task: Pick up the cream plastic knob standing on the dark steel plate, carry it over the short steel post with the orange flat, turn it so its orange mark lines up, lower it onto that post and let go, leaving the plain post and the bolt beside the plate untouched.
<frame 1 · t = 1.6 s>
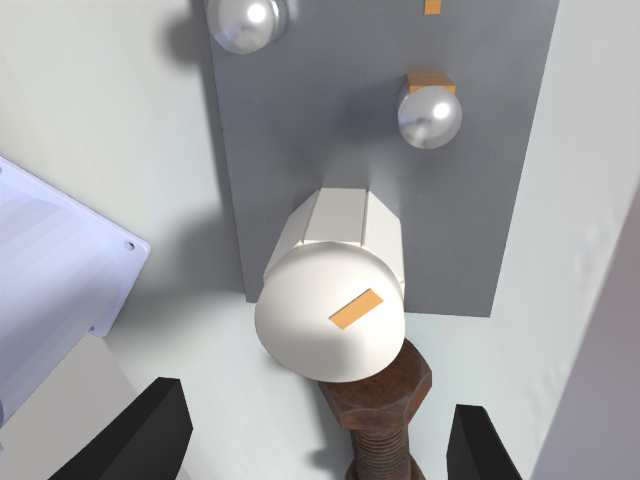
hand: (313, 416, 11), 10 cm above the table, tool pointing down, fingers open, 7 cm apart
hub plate: (369, 145, 18), on the table
knob: (343, 239, 19), point 1 cm above the table, touching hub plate
bolt: (380, 417, 27), on the table
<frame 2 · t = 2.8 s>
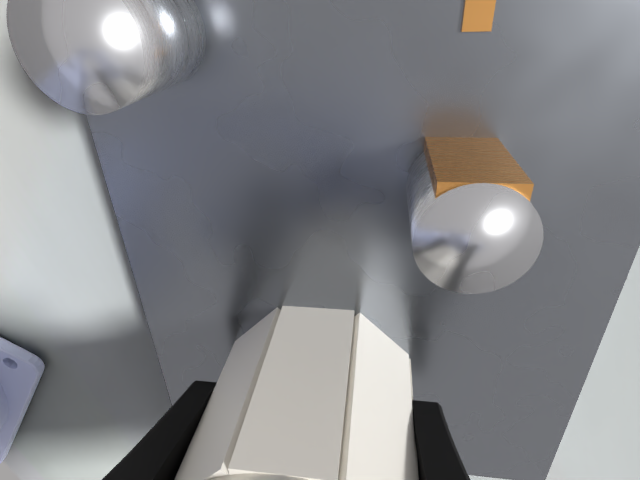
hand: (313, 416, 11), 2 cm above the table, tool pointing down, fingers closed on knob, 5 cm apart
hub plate: (359, 239, 11), on the table
knob: (320, 375, 12), point 1 cm above the table, touching gripper, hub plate
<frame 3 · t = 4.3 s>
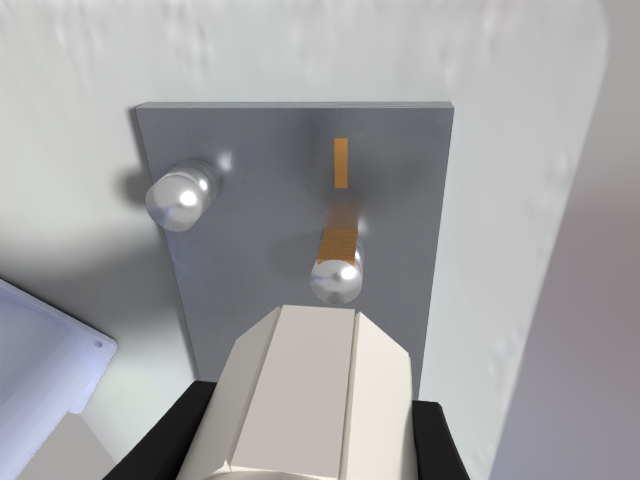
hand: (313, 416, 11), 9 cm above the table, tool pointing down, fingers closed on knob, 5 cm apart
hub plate: (302, 272, 20), on the table
knob: (321, 373, 12), point 8 cm above the table, touching gripper
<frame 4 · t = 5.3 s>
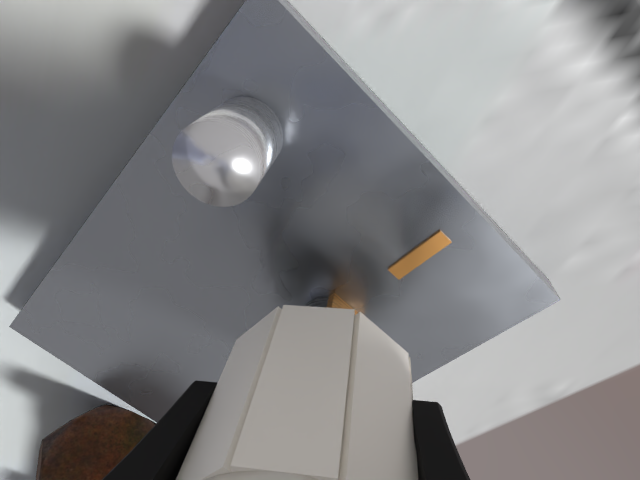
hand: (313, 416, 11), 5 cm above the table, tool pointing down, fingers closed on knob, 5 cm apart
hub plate: (255, 297, 16), on the table
knob: (321, 373, 12), point 3 cm above the table, touching gripper
bolt: (104, 477, 24), on the table
when the fingers open (4 cm above the table, at t = 6.1 s): knob drops 1 cm, resting on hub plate.
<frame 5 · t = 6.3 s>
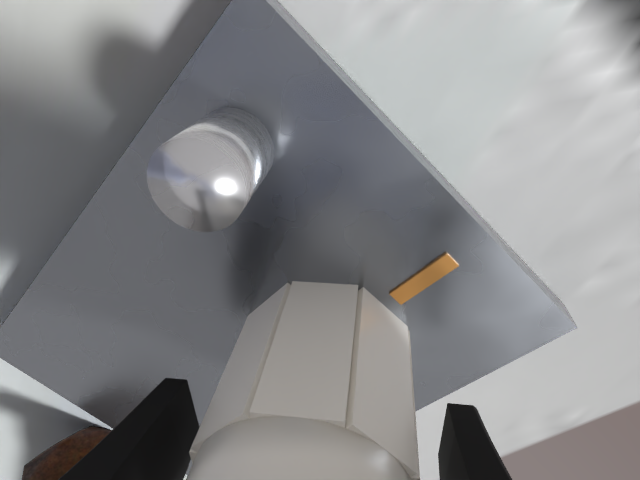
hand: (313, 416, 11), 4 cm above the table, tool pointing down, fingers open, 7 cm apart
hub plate: (247, 319, 15), on the table
knob: (326, 347, 13), point 1 cm above the table, touching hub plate
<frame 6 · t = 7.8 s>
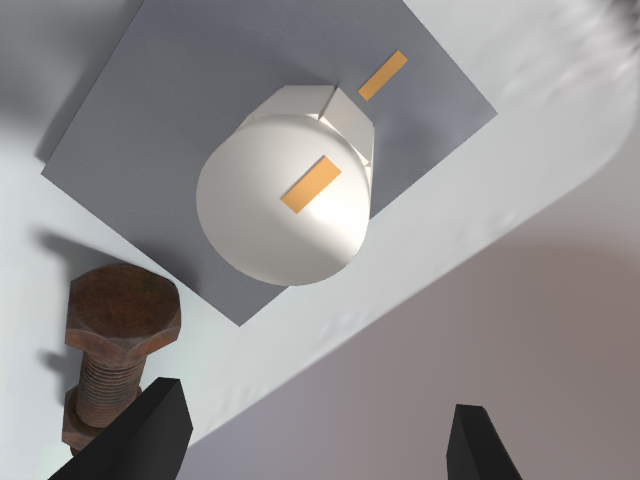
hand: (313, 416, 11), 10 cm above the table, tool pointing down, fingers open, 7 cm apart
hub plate: (250, 140, 19), on the table
knob: (311, 149, 17), point 1 cm above the table, touching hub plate
bolt: (129, 353, 27), on the table
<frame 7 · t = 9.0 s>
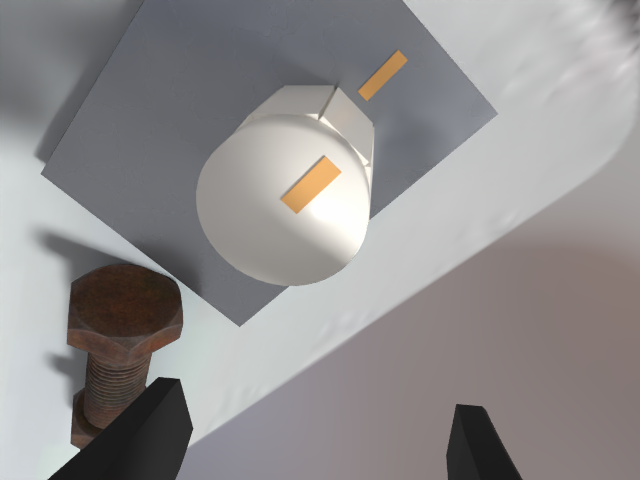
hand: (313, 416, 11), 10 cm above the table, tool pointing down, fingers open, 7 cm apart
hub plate: (250, 140, 19), on the table
knob: (311, 149, 17), point 1 cm above the table, touching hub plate
bolt: (135, 354, 27), on the table
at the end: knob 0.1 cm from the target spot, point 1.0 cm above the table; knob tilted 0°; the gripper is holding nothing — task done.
